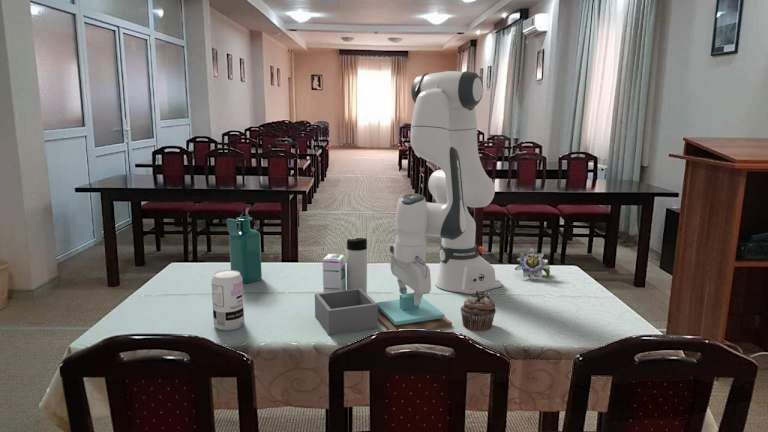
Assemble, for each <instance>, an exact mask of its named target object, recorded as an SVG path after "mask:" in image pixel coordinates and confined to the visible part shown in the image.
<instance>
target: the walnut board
mask: <svg viewBox="0 0 768 432" xmlns="http://www.w3.org/2000/svg"><path fill="white" fill-rule="evenodd" d="M377 322H379V324H380V325H382V327H383V328H384V327H385V328H386V329H387V330H399V329H431V330H437V329H443V328H449V327H452V326H453V323H452V321H451V320H450V319H448V318H447V317H446V316H445V317H444V318H439V319H434V320H428V321H421V322H414V323H408V324H401V325H395V324H394V323H393V322H392V321H391V320H390V319H389V318H388V317H386V316H385V315H384V314H383V313H382V312H381V311H380V310H379V309H378V315H377ZM385 328H384V329H385ZM386 329H385V330H386ZM387 330H386V331H387Z"/></svg>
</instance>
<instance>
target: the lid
mask: <svg viewBox="0 0 768 432" xmlns="http://www.w3.org/2000/svg"><path fill="white" fill-rule="evenodd" d="M414 297H415V294H414V292H411V293H406V294H399V299H392V300H386V301H385V300H384V301H378V302H376V303H377V304H378V309H379V310H380V311H381V312H382V313H383V314H384V315H385V316H386V317H388V318H389V319H390V320H391V321H392V322H393V323H394V324H395V325H401V324H408V323H414V322H421V321H428V320H434V319H439V318H444V317H446V316H445V313H444V312H442V311H441V310H440V309H438V308H437V307H436V306H435V305H433V304H432V303H431V302H430V301H428V300H427V299H426V298H424V297H423V296H422V298H421V304H420V305H414V304H413V298H414Z"/></svg>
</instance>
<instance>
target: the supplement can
mask: <svg viewBox="0 0 768 432" xmlns="http://www.w3.org/2000/svg"><path fill="white" fill-rule="evenodd" d="M211 296H212V297H211V298H212V316H213V327H215V328H216V329H217V330H220V331H232V330H233V331H234V330H237V329H240V328H241V327H242V326H243V325H244V324H245V309H244V307H245V306H244V283H243V282H242V276H241V275H240V272H238V271H235V270H231V269H225V270H220V271H216V272H214V273H213V276H212V277H211Z"/></svg>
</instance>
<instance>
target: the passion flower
mask: <svg viewBox="0 0 768 432" xmlns="http://www.w3.org/2000/svg"><path fill="white" fill-rule="evenodd" d="M544 255H545V254H544V252H541V253H536V251H535V250H534V248H532V247H531V248H529V250H528V251H526V252H524V253H522V252H519V254H518V253H517V254H516V256H517V257H518V258H516V261H517V262H519V265H517V266H516V267H515V268H514V270H515V271H521V270H522V275H523V277H524V278H526V277H528V278H529V280H530V281H532V280H534V277H535V275H537V277H540V278H542V277H543V272H544V273H545V275H546V276H547V277H548V278H549V276H550V274H551V271H550V268H551V267H550V265H549V264H548V263H549V262H548V261H549V260H548V259H544Z"/></svg>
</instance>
